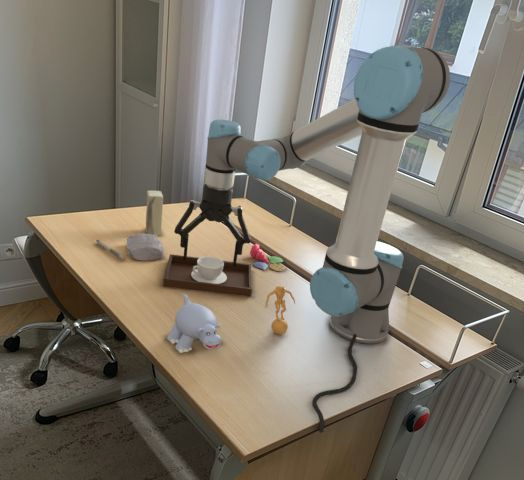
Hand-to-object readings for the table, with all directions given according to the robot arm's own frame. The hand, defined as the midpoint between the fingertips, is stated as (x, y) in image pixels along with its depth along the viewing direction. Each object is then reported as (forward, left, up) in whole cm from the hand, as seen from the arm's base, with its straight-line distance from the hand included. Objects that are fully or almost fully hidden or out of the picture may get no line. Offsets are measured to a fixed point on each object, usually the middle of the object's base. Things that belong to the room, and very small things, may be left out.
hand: (209, 261), depth 151 cm
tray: (0, 0, -5) cm, 5 cm away
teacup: (0, 0, -5) cm, 5 cm away
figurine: (-24, -18, -5) cm, 31 cm away
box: (+27, +19, -5) cm, 33 cm away
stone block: (+12, +20, -5) cm, 24 cm away
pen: (+9, +29, -5) cm, 31 cm away
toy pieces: (+15, -17, -5) cm, 23 cm away
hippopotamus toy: (-34, +1, -5) cm, 34 cm away
